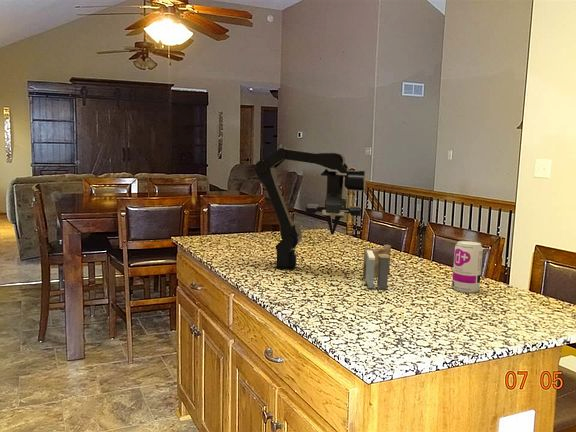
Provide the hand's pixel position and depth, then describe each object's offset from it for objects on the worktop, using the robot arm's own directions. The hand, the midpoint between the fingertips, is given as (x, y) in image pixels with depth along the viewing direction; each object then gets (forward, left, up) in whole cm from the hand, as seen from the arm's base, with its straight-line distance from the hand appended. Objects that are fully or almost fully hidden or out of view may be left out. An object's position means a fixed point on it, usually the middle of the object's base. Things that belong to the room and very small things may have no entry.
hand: (332, 234), depth 185 cm
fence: (+16, -2, -13) cm, 21 cm away
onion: (+16, +8, -13) cm, 22 cm away
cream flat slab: (+13, -15, -13) cm, 23 cm away
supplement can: (+43, -13, -13) cm, 47 cm away
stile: (+17, -18, -13) cm, 28 cm away
